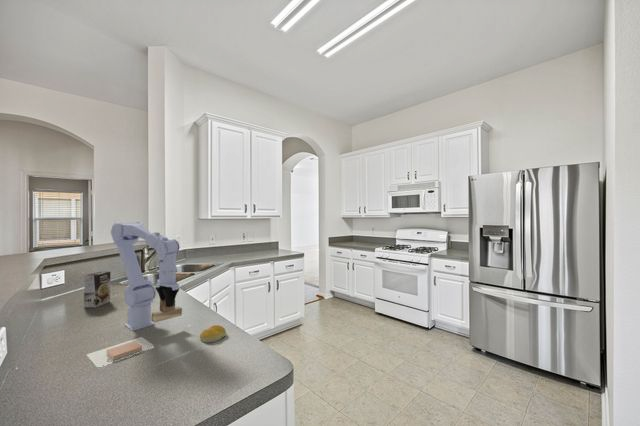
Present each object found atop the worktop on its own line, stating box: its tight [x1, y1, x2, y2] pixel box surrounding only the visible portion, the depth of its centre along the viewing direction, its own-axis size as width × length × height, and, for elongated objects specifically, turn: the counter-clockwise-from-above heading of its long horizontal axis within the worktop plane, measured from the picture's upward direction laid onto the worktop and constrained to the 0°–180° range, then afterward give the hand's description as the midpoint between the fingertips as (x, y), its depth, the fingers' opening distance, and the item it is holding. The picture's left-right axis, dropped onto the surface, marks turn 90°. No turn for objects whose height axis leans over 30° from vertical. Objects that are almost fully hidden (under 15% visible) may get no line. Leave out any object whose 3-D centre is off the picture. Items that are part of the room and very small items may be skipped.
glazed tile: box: [106, 341, 142, 361], centre depth 88 cm, size 2×8×6 cm
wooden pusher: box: [151, 299, 183, 324], centre depth 105 cm, size 4×10×7 cm, turn 143°
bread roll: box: [199, 324, 227, 343], centre depth 100 cm, size 8×9×4 cm
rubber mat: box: [86, 336, 154, 368], centre depth 90 cm, size 13×16×1 cm
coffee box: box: [83, 271, 112, 308], centre depth 137 cm, size 9×6×16 cm
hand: (167, 305), depth 105 cm, fingers closed on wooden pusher, 4 cm apart
